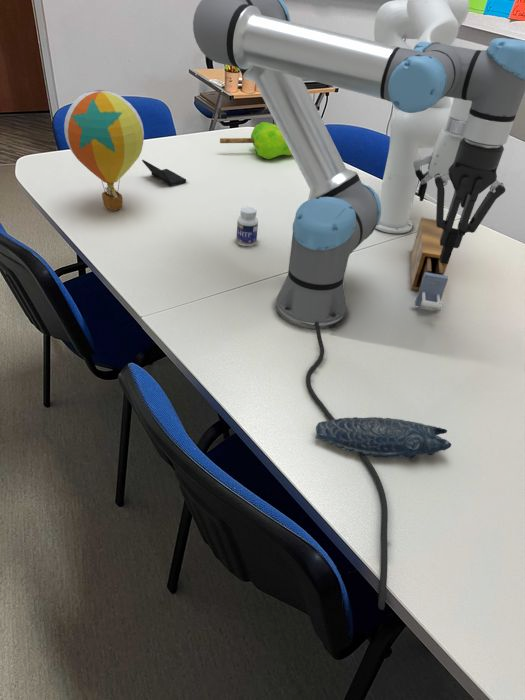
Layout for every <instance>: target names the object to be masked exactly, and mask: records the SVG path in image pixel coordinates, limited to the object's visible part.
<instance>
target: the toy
mask: <svg viewBox="0 0 525 700" xmlns="http://www.w3.org/2000/svg"><path fill="white" fill-rule="evenodd" d="M63 128H64V130H63V131H64V132H63V133H64V137H65V141H66V144H67V146H68V148H69V150H70V151H71V152H72V154H73V156H75V158H76V159H77V161H78V162H80V163H81V165H83V166H84V167H85V168H86V169H87V170H88V171H90V172H91V173H92V174H93V175H94V176H96V177H97V178H98V179H100V180H101V183H102V184H101V185H102V187H103V191H102V193H101V198H102V203H103V205H104V207H105V208H106V209H108V210H109V211H110V212H113V211H118V210H121V209H122V208H123V203H124V201H123V195H122V194H121V193H120V192H119V191H118V190H119V188H120V183H118V182H120V181H121V178H122V177H123V176H124V175H125V174H126V173H127V172H128V171H129V170H130V169H131V167H133V165H134V164H135V163H136V161H137V160H138V159H139V158H140V155H141V153H142V150H143V147H144V141H145V131H144V130H145V129H144V125H143V121H142V119H141V116H140V114H139V113H138V111H137V109H136V108H134V106H133V105H132V103H130V102H129V101H128V100H127V99H126V98H124V97H123V96H122V95H119V94H117V93H115V92H112V91H109V90H102V89H101V90H100V89H98V90H92V91H87V92H85V93H82V95H79V96H78V97H77V98H76V99H75V100H73V102H72V103H71V105H70V107H69V108H68V111H67V112H66V114H65V118H64V124H63ZM104 183H105V184H106V185H107V186H106V187H105V186H104ZM115 183H118V185H117V190H116V188H115Z"/></svg>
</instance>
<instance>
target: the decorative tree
mask: <svg viewBox="0 0 525 700" xmlns="http://www.w3.org/2000/svg"><path fill="white" fill-rule="evenodd" d="M219 143H220V144H252V146H253V147H254V149H255V151H256V153H257V155H258V157H261V158H264V159H265V160H271V159H274V158H276V157H279V156H293V155H292V153H291V151H290V149H289V147H288V146H287V144H286V142H285V140H284V138H283V136H282V134H281V132H280V130H279V128H278V126H277V124H273V123H270V122H267V121H262V122H260V123H259V124H256V125H255V126H254V127H253V129H252V131H251V134H250V137H227V138H226V137H225V138H223V137H221V138H219Z"/></svg>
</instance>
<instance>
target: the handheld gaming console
mask: <svg viewBox="0 0 525 700" xmlns="http://www.w3.org/2000/svg"><path fill="white" fill-rule="evenodd" d="M141 161H142V163H143V164H144V165H145V167H147V169H148V170H149V171H150V172H151V174H150V175H151V176H153V177H155V178H156V179H158V180H160V181H162V182H163V183H165V184H167V185H168V186H170V187H172V186H177V185H180V184H184V183H185V184H186V183H187V179H186V178H184V177H183V176H181V175H179V174H177V173H175V172H173V171H172V170H170V169H168V168H164V169H161V168H159V167H157V166H155V165H153V164H151V163H150V162H148V161H146V160H145V159H142V160H141Z"/></svg>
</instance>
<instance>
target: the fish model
mask: <svg viewBox="0 0 525 700" xmlns="http://www.w3.org/2000/svg"><path fill="white" fill-rule="evenodd" d="M315 432H316V436H315V439H316V440H320V441H322V442H325V443H328V444H329V445H331V446H335V447H337V448H338V449H344V450H345V451H348V452H353V453H356V454H358V453H362V454H363V455H365V456H366V457H368V456H370V457H374V458H382V459H383V458H384V459H386V458H387V459H388V458H390V457H391V458H395V457H403V458H404V457H405V458H406V459H414V458H415V456H417V455H418V456H419V455H423V454H426V455H428V456H433V455H434V454H436V453H439V452H441V451H446V450H448V449H450V448H451V446H452V443H451V442H450V441H449V440H447V439H446V438H442V437H441V436H440V435H444V434H447V432H448V430H447V429H446V428H442V427H437V426H433V425H429V424H424V423H422V422H421V423H420V422H416V421H412V420H411V421H410V420H404V419H399V418H391V417H384V418H383V417H377V416H373V417H372V416H371V417H358V416H354V417H342V418H334V420H330V421H329V420H326V421H325V420H324V421H320V422H318V423H317V424H316V426H315Z"/></svg>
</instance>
